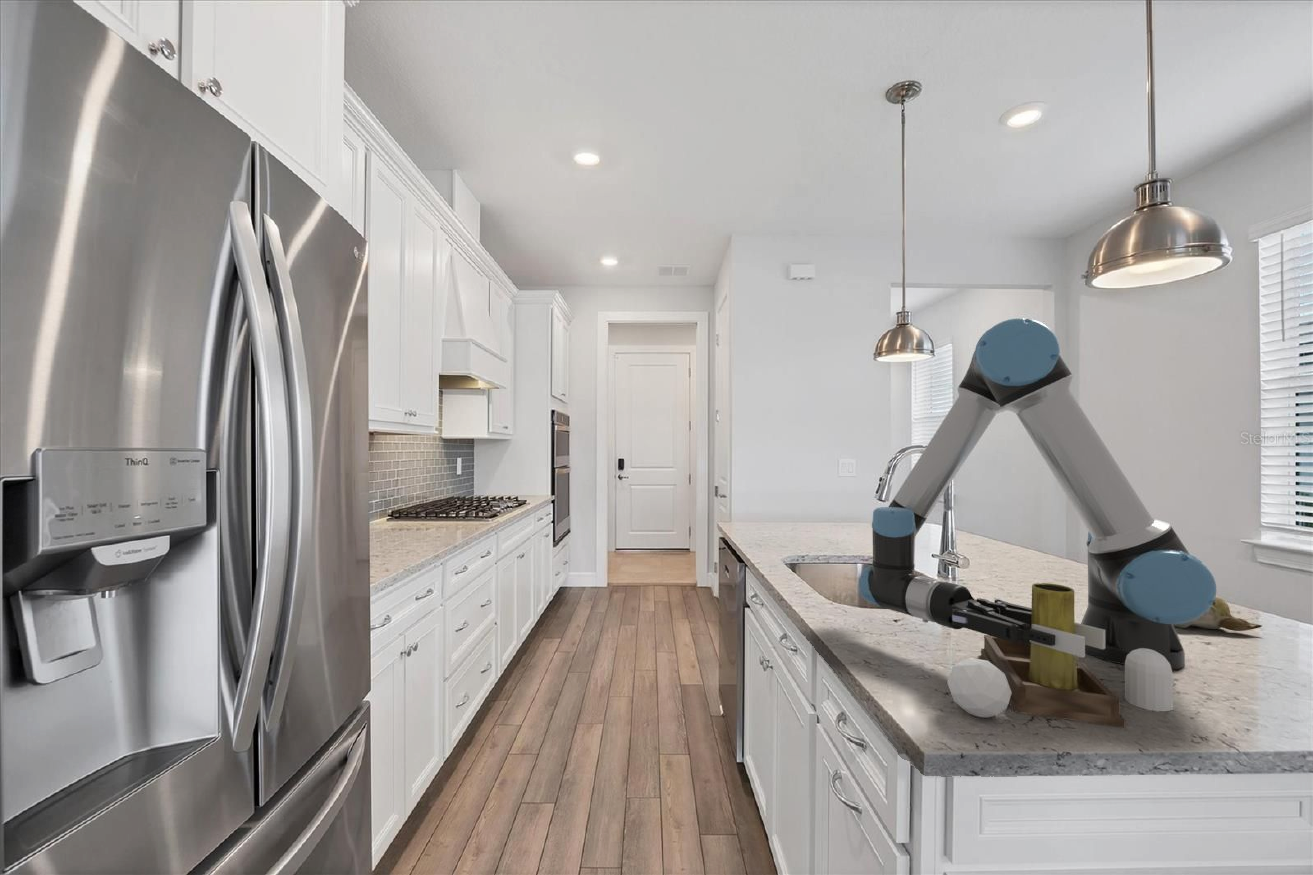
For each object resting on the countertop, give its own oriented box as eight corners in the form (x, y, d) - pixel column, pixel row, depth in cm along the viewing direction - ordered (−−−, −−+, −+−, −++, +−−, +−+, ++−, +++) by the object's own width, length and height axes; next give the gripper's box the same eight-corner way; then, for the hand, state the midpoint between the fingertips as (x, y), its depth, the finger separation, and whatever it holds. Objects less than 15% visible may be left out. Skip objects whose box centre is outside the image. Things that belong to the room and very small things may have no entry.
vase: (1061, 694, 80) (1061, 594, 80) (1019, 678, 86) (1019, 584, 86) (1087, 687, 82) (1087, 590, 82) (1044, 671, 88) (1044, 580, 88)
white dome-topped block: (1181, 708, 82) (1181, 653, 82) (1158, 714, 80) (1158, 658, 80) (1139, 693, 87) (1138, 641, 87) (1116, 698, 85) (1116, 645, 85)
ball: (996, 736, 79) (1034, 704, 75) (945, 718, 78) (981, 684, 74) (976, 689, 85) (1010, 657, 82) (929, 672, 85) (961, 639, 81)
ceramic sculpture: (1145, 578, 124) (1220, 584, 123) (1142, 617, 124) (1217, 624, 123) (1183, 591, 114) (1266, 598, 112) (1181, 633, 114) (1264, 641, 112)
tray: (1066, 664, 98) (1065, 643, 98) (1124, 727, 76) (1124, 700, 76) (981, 655, 102) (981, 634, 102) (1013, 711, 80) (1013, 685, 81)
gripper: (970, 615, 104) (1123, 657, 84) (907, 632, 95) (1061, 683, 75) (970, 575, 104) (1123, 607, 84) (907, 587, 95) (1061, 627, 75)
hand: (1093, 643), depth 80 cm, fingers closed on vase, 5 cm apart
